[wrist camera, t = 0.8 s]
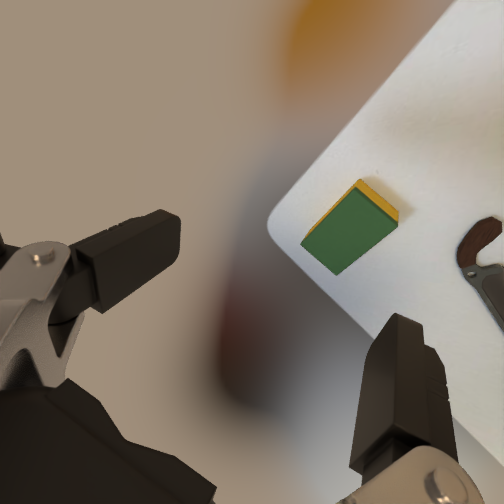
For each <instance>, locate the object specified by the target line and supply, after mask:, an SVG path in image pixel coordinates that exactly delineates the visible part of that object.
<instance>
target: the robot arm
mask: <svg viewBox="0 0 504 504" xmlns="http://www.w3.org/2000/svg"><path fill="white" fill-rule="evenodd" d="M180 231H181V220H180V218H179V217H178V216H176V215H174V214H171V213H169V212H167V211H165V210H162V209H159V210H157V211H155V212H152V213H150V214H148V215H146V216H141V217H136V218H131V219H128V220H126V221H124V222H122V223H119V225H115V226H113V227H110V228H109V229H108V230H107V229H106V230H103V231H101V232H99V233H97V234H95V235H92V236H90V237H88V238H86V239H83V240H81V241H79V242H76V243H74V244H72V245H69V246H67V245H65V244H63V243H60V242H52V241H45V242H37V243H33V244H30V245H27V246H24V247H22V248H20V247H15V246H11V245H7V244H4V242H3V239H2V237H1V234H0V504H215V503H214V501H213V497H214V494H215V492H216V489H217V487H216V486H215V485H213V484H212V483H211V482H209V481H208V480H207V479H205V478H204V477H202V476H201V475H200V474H199V473H197V472H196V471H194V470H193V469H192V468H190V467H189V466H188V465H186V464H185V463H184V462H182V461H181V460H179V459H178V458H177V457H175V456H173V455H169V454H166V453H163V452H160V451H157V450H154V449H151V448H148V447H144V446H142V445H139V444H135V443H132V442H130V441H127V440H126V439H124V437H123V436H122V435H121V433H120V432H119V430H118V429H117V427H116V426H115V424H114V422H113V421H112V420H111V418H110V416H109V415H108V413H107V412H106V410H105V409H104V407H103V406H102V404H101V402H100V401H99V400H97V399H96V398H95V397H93V396H92V395H91V394H89V393H88V392H87V391H85V390H84V389H82V388H81V387H80V386H78V385H77V384H76V383H74V382H73V381H72V380H70V379H69V378H67V379H66V380H65V369H66V365H67V362H68V359H69V356H70V354H71V351H72V349H73V346H74V343H75V341H76V338H77V335H78V332H79V330H80V327H81V325H82V322H83V320H84V310H86V309H87V308H89V307H92V308H93V309H95V310H97V311H98V312H100V313H101V314H103V313H105V312H106V311H107V310H109V309H110V308H112V307H113V306H114V305H116V304H117V303H119V302H120V301H121V300H123V299H124V298H126V297H127V296H128V295H130V294H131V293H132V292H134V291H135V290H137V289H138V288H140V287H141V286H142V285H144V284H145V283H147V282H148V281H149V280H151V279H152V278H154V277H155V276H156V275H158V274H159V273H161V272H162V271H163V270H165V269H166V268H167V267H169V266H170V265H172V264H173V263H174V262H175V260H176V259H177V257H178V254H179V250H180ZM446 384H447V381H446V374H445V367H444V365H443V363H442V361H441V360H440V358H439V356H438V354H437V352H436V351H435V349H434V348H431V347H429V346H427V345H425V344H424V335H423V326H422V324H420V323H418V322H415V321H413V320H411V319H409V318H406V317H404V316H402V315H399V314H397V313H394V314H393V315H392V316H391V317H390V318H389V320H388V321H387V323H386V324H385V326H384V327H383V329H382V330H381V332H380V333H379V334H378V336H377V337H376V339H375V340H374V342H373V343H372V345H371V347H370V349H369V351H368V353H367V356H366V360H365V365H364V371H363V378H362V384H361V391H360V398H359V405H358V411H357V417H356V424H355V430H354V437H353V444H352V450H351V457H350V464H349V468H351V469H353V470H354V471H356V472H357V473H359V474H361V475H362V485H361V487H360V488H358V489H357V490H356V491H354V492H353V493H352V494H350V495H349V496H347V497H346V498H344V499H342V500H340V501H339V502H337V503H336V504H485V503H484V501H483V498H482V496H481V494H480V492H479V490H478V488H477V486H476V485H475V483H474V482H473V480H472V479H471V477H470V476H469V475H468V474H467V472H466V471H465V470H464V469H463V468H462V467H461V466H460V465H459V462H458V456H457V449H456V442H455V436H454V429H453V422H452V415H451V408H450V402H449V401H448V399H449V394H448V388H447V386H446Z"/></svg>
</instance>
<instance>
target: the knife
mask: <svg viewBox="0 0 504 504" xmlns="http://www.w3.org/2000/svg"><path fill="white" fill-rule="evenodd" d="M501 233H502V222H501V221H499V220H497V219H495V218H493V217H489V218H486V219H484V220H481V221H478V222H477V223H476V224H475V225H474V227H473V228H472V229H471V230H470V231H469V232H468V234H467V235H466V236H465V238H464V239H463V241H462V242H461V244H460V245H459V247H458V251H457V262H458V264H459V267H460V268H462V272H463V275H464V277H465V279H466V280H467V281H468V282H469V283H470V284H471V285H472V286H473V287H474V288H475V289H476V290H477V291H478V293H479V294H480V296H481V298H482V299H483V301H484V302H485V304H486V305H487V307H488V308H489V310H490V311H491V313H492V315H493V316H494V318H495V319H496V321H497V322H498V324H499V325H500V327H501V328H502V330H503V332H504V267H502V266H501V265H492V266H489V267H485V268H484V267H479V266H478V265H477V264H476V256H477V253H478V252H479V251H480V250H481V249H483V248H484V247H485V246H486V245H488V244H489V243H490V242H492V241H493V240H494V239H495V238H496V237H497V236H499V235H500V234H501ZM469 272H476V275H474V276H468V275H467V274H468V273H469Z"/></svg>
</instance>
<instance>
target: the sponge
mask: <svg viewBox="0 0 504 504" xmlns="http://www.w3.org/2000/svg"><path fill="white" fill-rule="evenodd" d="M398 214H399V212H398V211H397V210H396V209H395V208H394V207H393V206H391V205H390V204H389V203H388V202H387V201H386V200H384V199H383V198H382V197H381V196H380V195H378V194H377V193H376V192H375V191H374V190H373V189H371V188H370V187H369V186H368V185H367V184H365V183H364V182H363V181H362V180H361V179H359V180H358V181H357V182H356V183H355V184H354V185H353V186H352V187H351V188H350V189H349V190H348V191H347V192H346V193H345V194H344V195H343V196H342V197H341V198H340V199H339V200H338V201H337V202H336V203H335V204H334V205H333V207H332V208H331V209H330V210H329V211H328V212H327V213H326V214H325V215H324V216H323V217H322V218H321V219H320V220H319V221H318V222H317V223H316V224H315V225H314V226H313V227H312V228H311V229H310V231H309V232H308V233H307V235H306V236H305V238H304V239H303V241H302V242H301V244H300V245H301V246H302V247H304V248H305V249H306V250H307V251H308V252H309V253H311V254H312V255H313V256H314V257H315V258H316V259H317V260H319V261H320V262H321V263H322V264H323V265H324V266H325V267H327V268H328V269H329V270H330V271H331V272H332V273H334V274H335V275H336V276H337V275H338V274H339V273H341V272H342V271H343V270H344V269H346V268H347V267H348V266H349V265H351V264H352V263H353V262H354V261H356V260H357V259H358V258H359V257H361V256H362V255H363V254H364V253H366V252H367V251H368V250H369V249H371V248H372V247H373V246H374V245H376V244H377V243H378V242H379V241H381V240H382V239H383V238H384V237H386V236H387V235H388V234H389V233H391V232H392V231H393V230H394V229H396V228H397V227H398Z"/></svg>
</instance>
